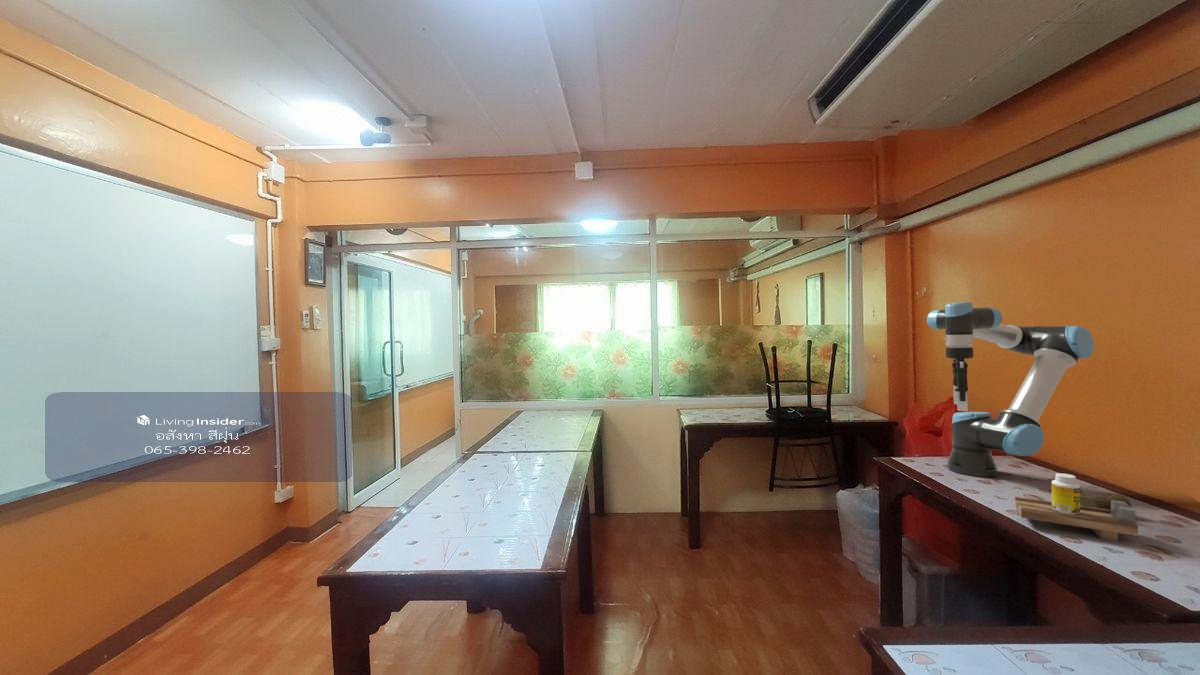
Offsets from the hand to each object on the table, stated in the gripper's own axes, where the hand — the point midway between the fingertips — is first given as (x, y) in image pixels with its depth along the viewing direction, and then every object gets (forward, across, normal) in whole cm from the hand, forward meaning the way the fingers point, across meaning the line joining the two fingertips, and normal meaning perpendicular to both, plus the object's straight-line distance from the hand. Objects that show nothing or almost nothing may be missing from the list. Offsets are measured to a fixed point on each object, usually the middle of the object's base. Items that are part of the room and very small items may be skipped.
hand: (960, 407), depth 157 cm
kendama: (+29, +3, +31) cm, 43 cm away
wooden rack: (+28, +24, +22) cm, 43 cm away
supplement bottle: (+24, +24, +21) cm, 40 cm away
